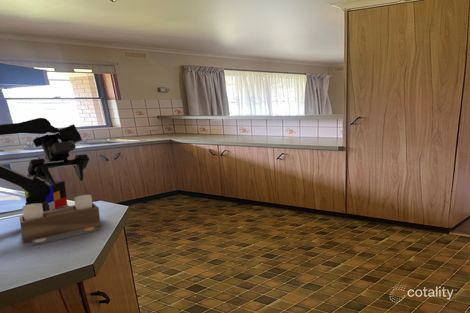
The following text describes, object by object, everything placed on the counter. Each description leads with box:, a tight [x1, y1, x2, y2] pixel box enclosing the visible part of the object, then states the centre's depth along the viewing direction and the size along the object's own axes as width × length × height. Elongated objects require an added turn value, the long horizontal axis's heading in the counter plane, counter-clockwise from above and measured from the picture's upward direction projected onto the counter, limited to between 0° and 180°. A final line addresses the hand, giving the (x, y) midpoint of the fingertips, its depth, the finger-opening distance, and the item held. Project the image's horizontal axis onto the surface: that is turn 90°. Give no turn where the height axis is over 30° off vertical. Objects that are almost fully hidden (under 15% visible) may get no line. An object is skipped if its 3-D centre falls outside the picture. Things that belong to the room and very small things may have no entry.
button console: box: [18, 202, 101, 244], centre depth 99 cm, size 9×21×6 cm, turn 127°
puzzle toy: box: [24, 180, 68, 210], centre depth 128 cm, size 10×10×10 cm
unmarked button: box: [22, 203, 44, 221], centre depth 95 cm, size 5×5×6 cm
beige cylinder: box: [74, 194, 93, 211], centre depth 103 cm, size 5×5×6 cm
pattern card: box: [31, 226, 98, 247], centre depth 94 cm, size 4×17×1 cm, turn 127°
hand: (68, 182), depth 107 cm, fingers open, 9 cm apart
